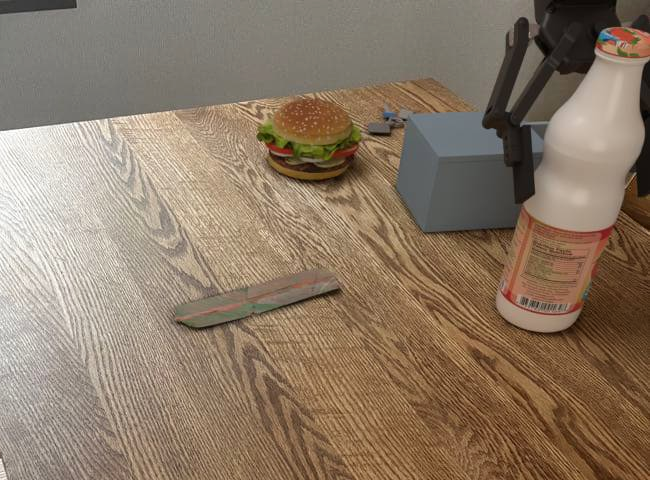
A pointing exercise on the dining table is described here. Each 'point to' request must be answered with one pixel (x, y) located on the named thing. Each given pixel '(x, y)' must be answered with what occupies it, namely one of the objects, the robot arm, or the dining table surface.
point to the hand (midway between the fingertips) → (587, 196)
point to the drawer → (541, 129)
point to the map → (256, 298)
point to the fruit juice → (577, 189)
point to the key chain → (386, 125)
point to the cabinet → (458, 173)
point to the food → (310, 139)
